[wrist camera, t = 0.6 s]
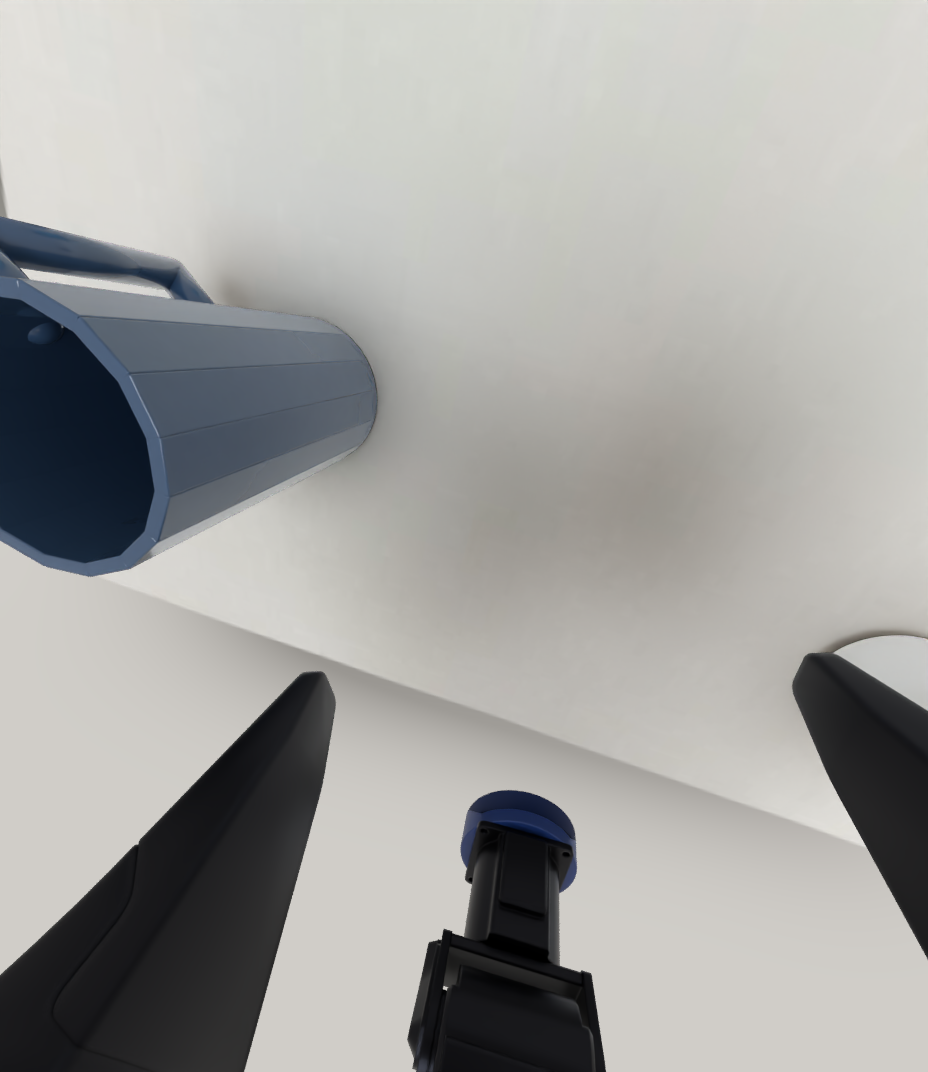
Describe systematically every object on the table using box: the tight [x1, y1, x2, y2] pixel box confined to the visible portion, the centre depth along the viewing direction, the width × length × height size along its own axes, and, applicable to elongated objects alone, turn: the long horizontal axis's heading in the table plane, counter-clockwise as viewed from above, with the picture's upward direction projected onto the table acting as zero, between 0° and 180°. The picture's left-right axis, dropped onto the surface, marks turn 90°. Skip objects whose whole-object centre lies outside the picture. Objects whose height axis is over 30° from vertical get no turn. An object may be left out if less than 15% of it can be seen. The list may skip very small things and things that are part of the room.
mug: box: [0, 217, 377, 577], centre depth 16 cm, size 10×7×13 cm
